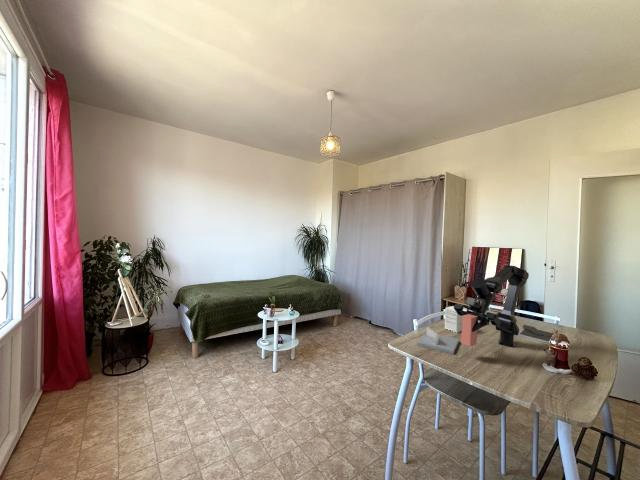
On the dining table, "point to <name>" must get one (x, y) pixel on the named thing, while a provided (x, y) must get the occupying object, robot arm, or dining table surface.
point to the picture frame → (534, 334)
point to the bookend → (432, 335)
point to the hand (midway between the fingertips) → (467, 329)
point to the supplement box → (452, 320)
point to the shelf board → (440, 343)
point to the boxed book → (469, 330)
